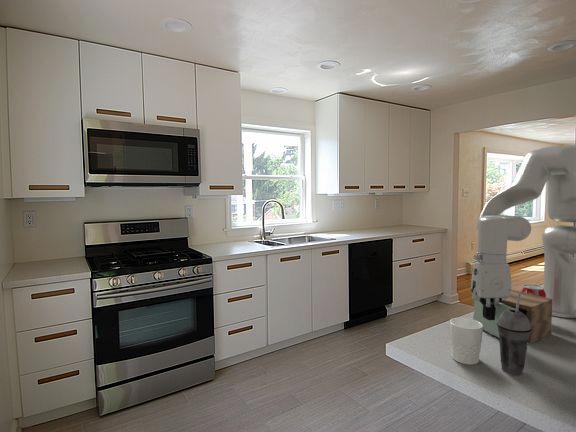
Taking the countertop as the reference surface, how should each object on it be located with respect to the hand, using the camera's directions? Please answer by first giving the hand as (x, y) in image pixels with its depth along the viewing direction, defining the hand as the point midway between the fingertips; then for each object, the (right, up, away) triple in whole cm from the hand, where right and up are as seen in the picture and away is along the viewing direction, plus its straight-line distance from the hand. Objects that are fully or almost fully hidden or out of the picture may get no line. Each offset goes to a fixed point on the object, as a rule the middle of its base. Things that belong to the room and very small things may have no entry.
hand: (488, 318), depth 106 cm
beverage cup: (-4, -8, -17) cm, 20 cm away
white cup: (-13, -8, -11) cm, 18 cm away
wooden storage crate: (+12, -6, +7) cm, 15 cm away
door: (+3, -6, +3) cm, 7 cm away
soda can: (+23, -5, +14) cm, 27 cm away
